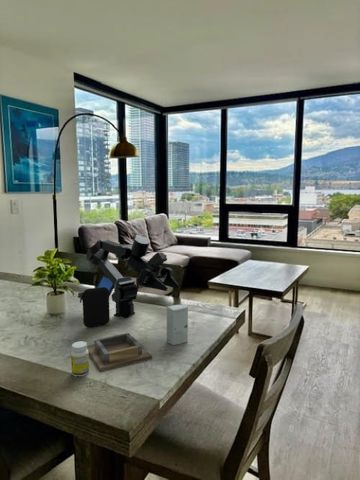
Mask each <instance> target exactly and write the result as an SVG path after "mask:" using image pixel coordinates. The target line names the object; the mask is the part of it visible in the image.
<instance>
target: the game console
mask: <svg viewBox="0 0 360 480" xmlns="http://www.w3.org/2000/svg"><path fill="white" fill-rule="evenodd" d="M100 287H106V288H107V289H108V290H109V297H110V296H112V294H113V292H114V287H115V286H114V285H113V283H112V282H111V281H110V280H109V278H108V277H107V276H106V275H105V274H104V273H102V275H101V276H100V278H99V279H98V281H97V283H96V285H95V287H94V288H100ZM83 292H84V291H81V292H78V297H80V298H81V295H82V293H83Z"/></svg>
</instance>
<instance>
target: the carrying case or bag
mask: <svg viewBox="0 0 360 480" xmlns="http://www.w3.org/2000/svg"><path fill="white" fill-rule="evenodd" d="M82 292H83V293H82V295H81V297H80V299H79V303H82V317H83V320H82V321H83V325H84V326H85V328H89V329H90V328H98V327H103V326H106V325H108V324H109V322H110V321H111V318H110V315H111V314H110V296H109V290H108V289H107V288H106V287H100V288H95V287H93V288H87V289H85V290H84V291H82Z"/></svg>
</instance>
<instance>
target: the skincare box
mask: <svg viewBox="0 0 360 480" xmlns="http://www.w3.org/2000/svg"><path fill="white" fill-rule="evenodd" d="M188 307H189V306H186V305H184V304H182V303H180V304H173V305H170V306H169V305H168V306H166V342H168V343H169V344H170V345H171V346H175V345H176V346H177V345H180V344H183V343H184V344H185V343H187V342H188V341H189V340H188V338H189V337H188V334H189V333H188V332H189V330H188V329H189V328H188V327H189V325H188V322H189V320H188V319H189V308H188Z"/></svg>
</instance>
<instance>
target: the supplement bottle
mask: <svg viewBox="0 0 360 480" xmlns="http://www.w3.org/2000/svg"><path fill="white" fill-rule="evenodd" d="M87 346H88V344H87V342H86V341H81V340H80V341H76V342H73V343H72V344H71V350H72V351H71V352H70V353H71V354H70V361H71V374H72V376H74V377H77V376H79V377H85V376H86V375H88V374H89V373H90V360H89V359H90V358H89V357H90V355H89V352H88V349H87Z"/></svg>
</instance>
